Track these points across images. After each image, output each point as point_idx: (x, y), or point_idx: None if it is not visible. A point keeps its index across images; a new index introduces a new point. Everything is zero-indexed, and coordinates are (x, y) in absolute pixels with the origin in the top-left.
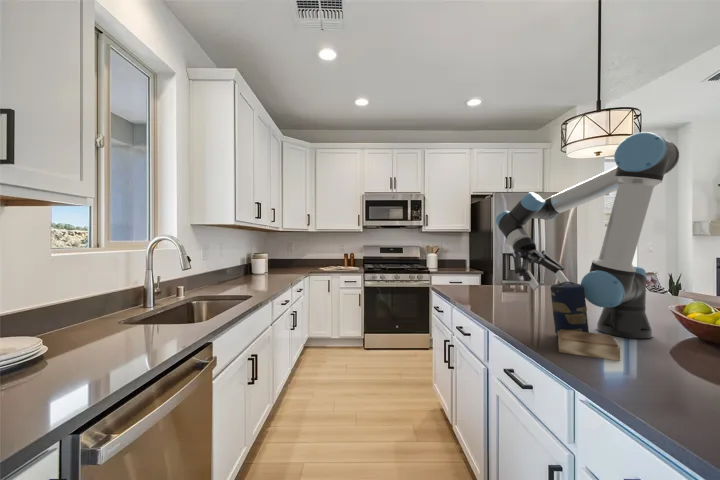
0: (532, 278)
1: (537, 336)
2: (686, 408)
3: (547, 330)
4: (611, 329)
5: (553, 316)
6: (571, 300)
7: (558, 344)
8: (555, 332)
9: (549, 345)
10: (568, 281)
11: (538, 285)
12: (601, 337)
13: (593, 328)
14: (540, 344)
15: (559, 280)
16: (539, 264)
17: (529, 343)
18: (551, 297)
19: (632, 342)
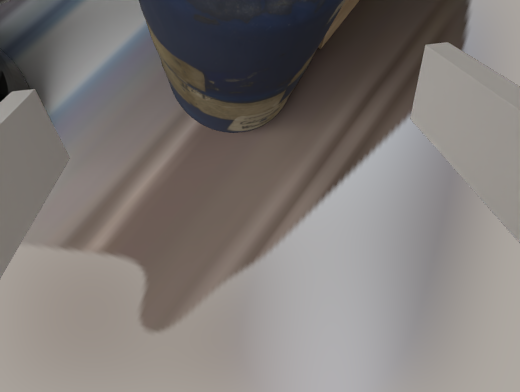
0: (504, 83)
1: (356, 122)
2: None
3: (247, 203)
4: (15, 86)
5: (296, 83)
6: None
7: (353, 7)
8: (286, 101)
9: (388, 10)
10: (4, 107)
11: (436, 43)
12: None
13: None
14: (414, 24)
15: (25, 221)
16: None
17: (448, 40)
18: (331, 23)
19: (41, 3)
